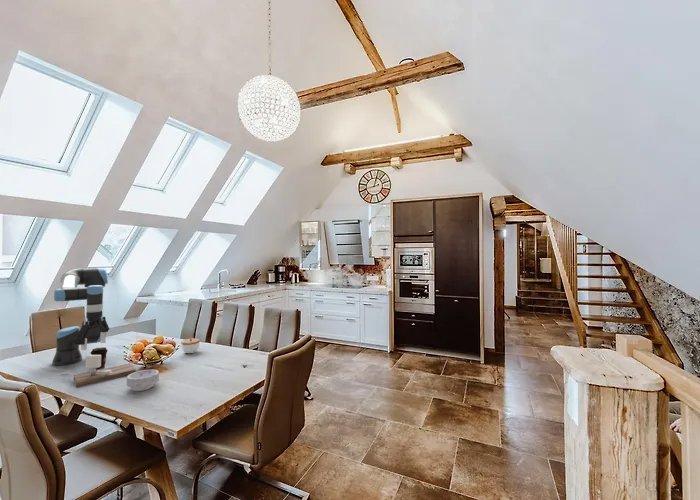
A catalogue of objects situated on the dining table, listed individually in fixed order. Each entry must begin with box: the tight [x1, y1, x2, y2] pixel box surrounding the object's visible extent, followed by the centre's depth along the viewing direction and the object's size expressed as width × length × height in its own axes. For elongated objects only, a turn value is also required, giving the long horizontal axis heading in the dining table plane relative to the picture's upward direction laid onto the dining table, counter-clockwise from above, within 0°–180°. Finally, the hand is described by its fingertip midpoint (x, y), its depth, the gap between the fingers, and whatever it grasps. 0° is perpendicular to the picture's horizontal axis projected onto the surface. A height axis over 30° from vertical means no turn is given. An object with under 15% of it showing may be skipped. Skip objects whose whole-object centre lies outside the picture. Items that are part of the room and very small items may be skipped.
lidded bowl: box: [181, 337, 201, 354], centre depth 234 cm, size 13×13×11 cm
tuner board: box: [73, 363, 137, 388], centre depth 188 cm, size 15×28×3 cm, turn 137°
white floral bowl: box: [126, 369, 160, 392], centre depth 174 cm, size 15×15×8 cm
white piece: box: [85, 354, 110, 375], centre depth 184 cm, size 2×12×12 cm, turn 97°
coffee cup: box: [90, 347, 108, 370], centre depth 200 cm, size 9×8×13 cm
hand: (93, 346), depth 184 cm, fingers open, 13 cm apart
